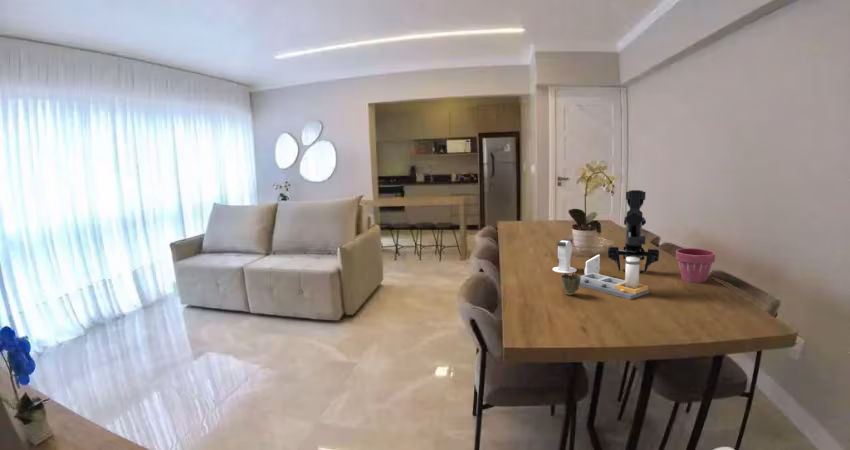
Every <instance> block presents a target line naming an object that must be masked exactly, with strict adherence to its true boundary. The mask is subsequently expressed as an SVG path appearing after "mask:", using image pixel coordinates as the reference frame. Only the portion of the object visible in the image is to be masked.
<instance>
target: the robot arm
mask: <svg viewBox="0 0 850 450" xmlns="http://www.w3.org/2000/svg"><path fill="white" fill-rule="evenodd" d="M646 193H647V192H646V191H643V190H640V189H636V190H633V189H631V190H628V191H626V192H625V200H626V203H627V206H628V207H629V210H628V211H626V216H624V220H623V225H625V229H626V232H625V242H624V246H623V249H619V246H609V247H608V248H607V258H608V259H611V260H612V261H613V262H614V263H615V264H616V267H617V269H618V272H620V271H621V261H620V256H622V257H623V258H622V259H624V260H626V257H638V258H640V261H644V260H645V265H644V272H643V269H640V266H641V265H640V266H639V273H640V272H643V273H644V274H646V273H647V271H648V270H649V267H650V266H651V265H652V264H654V263H655V262H658V261H659V257H660V250H659V249H658V248H647V251H646V250H645V249H644V246H642V245H646V235H642V228H643V226H645V224H647V221H646V220H647V219H646V218H645V217H643V214H644V213H643V212H642V211H641V210H640V209H641V208H642V206H643V205H644V201H646ZM645 258H646V259H645ZM623 271H624V272H625V268H624V269H622V272H623Z"/></svg>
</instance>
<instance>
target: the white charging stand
mask: <svg viewBox="0 0 850 450" xmlns="http://www.w3.org/2000/svg"><path fill="white" fill-rule="evenodd" d="M572 241H573V239H572V238H563V240H560V241H558V242H557V250H556V251H557V263H558V266H554V267H552V271H554V272H555V273H560V274H565V273H566V274H574V273H576V272H577V268H575V267H571V256H572V252H573V251H572V250H573V242H572ZM573 272H574V273H573Z"/></svg>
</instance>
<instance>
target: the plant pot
mask: <svg viewBox="0 0 850 450" xmlns="http://www.w3.org/2000/svg"><path fill="white" fill-rule="evenodd" d="M675 259H676V260H677V262H678V267H679V273H680V277H681V280H682V281H685V282H688V283H698V284H699V283H701V284H702V283H705V282H706V281H707V279H708V276H709V274H710V271H711V268H712V264H713V263H715V261H716V252H714V251H712V250H709V249H704V248H696V247H695V248H694V247H693V248H689V247H685V248H678V249H676V250H675Z"/></svg>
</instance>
